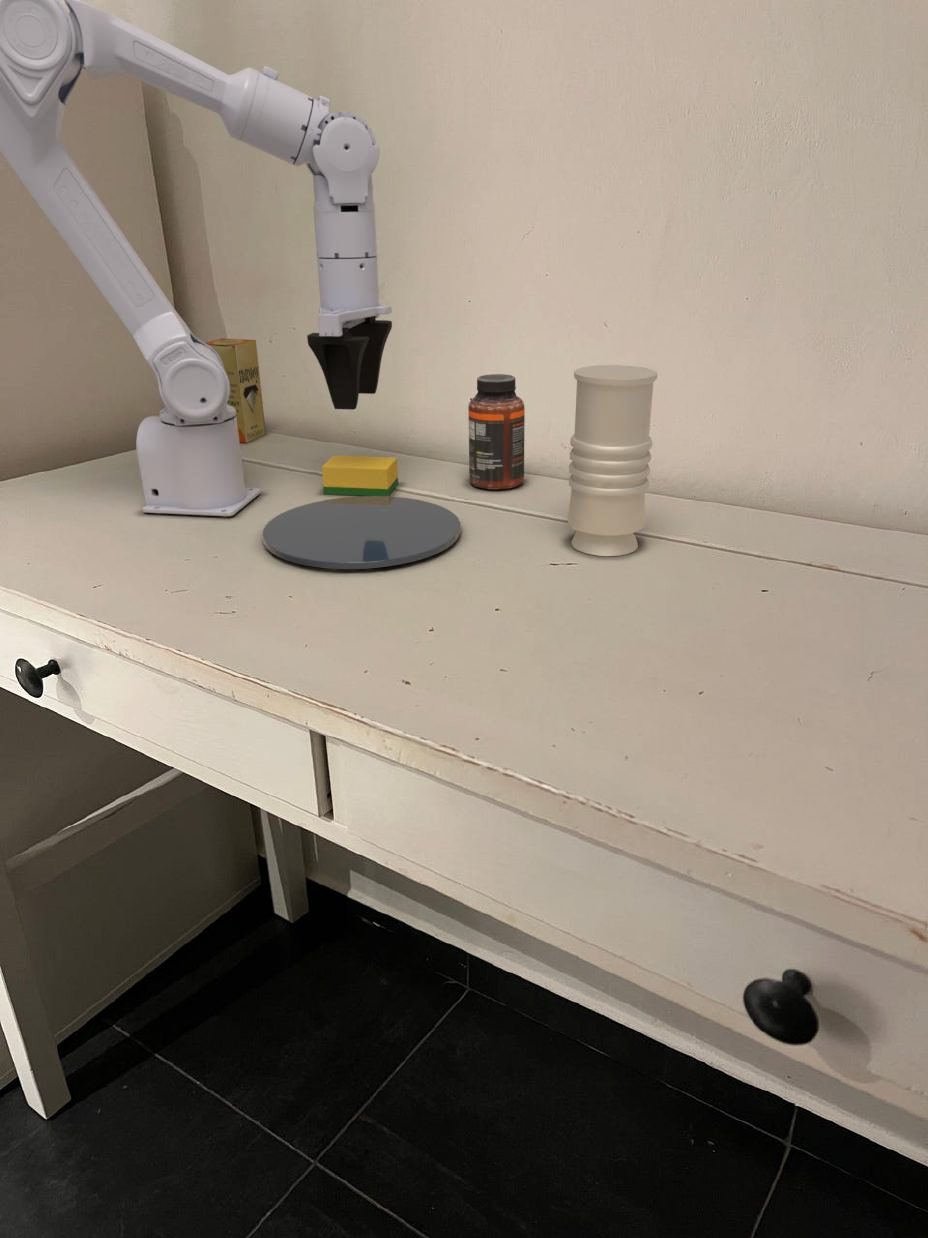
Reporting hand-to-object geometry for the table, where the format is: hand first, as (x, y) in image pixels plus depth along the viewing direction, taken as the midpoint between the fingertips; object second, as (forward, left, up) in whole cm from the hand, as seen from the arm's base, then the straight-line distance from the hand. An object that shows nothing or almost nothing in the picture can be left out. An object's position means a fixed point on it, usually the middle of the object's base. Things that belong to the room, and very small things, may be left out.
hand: (356, 400), depth 90 cm
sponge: (0, 0, -9) cm, 9 cm away
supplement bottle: (+14, +4, -10) cm, 17 cm away
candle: (+26, -13, -10) cm, 31 cm away
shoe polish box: (-22, +20, -10) cm, 31 cm away
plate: (+4, -14, -9) cm, 17 cm away
